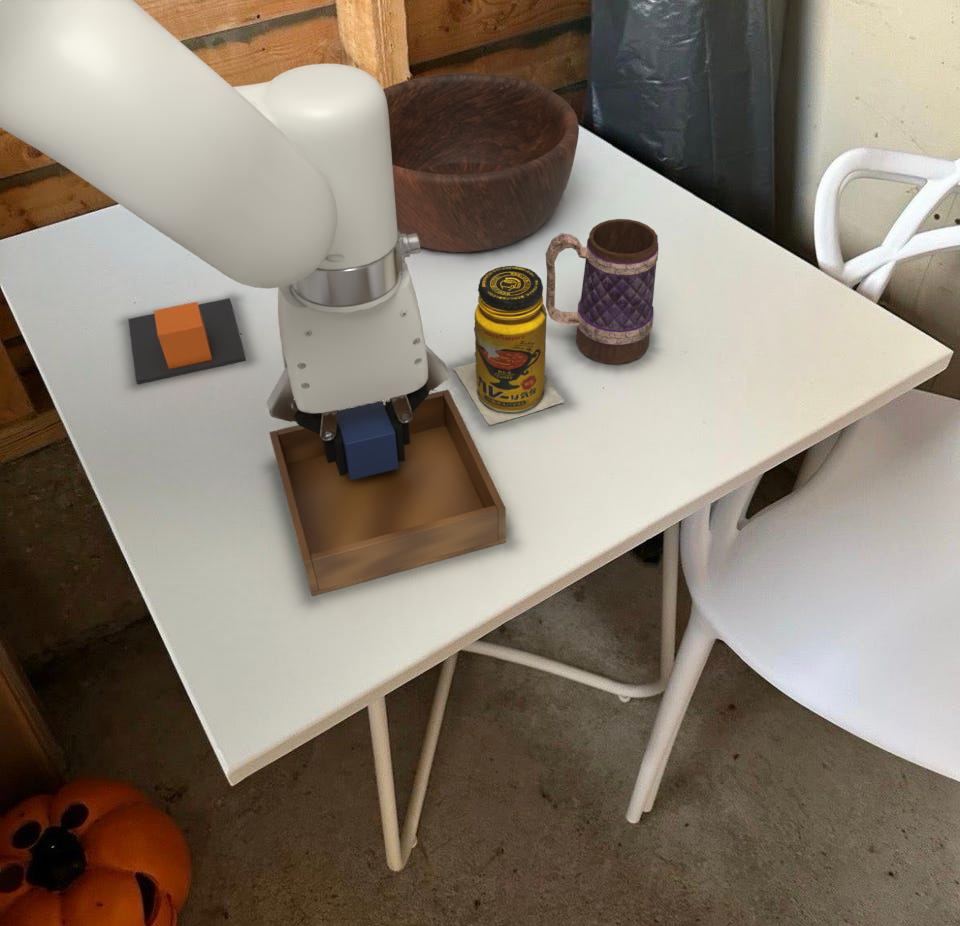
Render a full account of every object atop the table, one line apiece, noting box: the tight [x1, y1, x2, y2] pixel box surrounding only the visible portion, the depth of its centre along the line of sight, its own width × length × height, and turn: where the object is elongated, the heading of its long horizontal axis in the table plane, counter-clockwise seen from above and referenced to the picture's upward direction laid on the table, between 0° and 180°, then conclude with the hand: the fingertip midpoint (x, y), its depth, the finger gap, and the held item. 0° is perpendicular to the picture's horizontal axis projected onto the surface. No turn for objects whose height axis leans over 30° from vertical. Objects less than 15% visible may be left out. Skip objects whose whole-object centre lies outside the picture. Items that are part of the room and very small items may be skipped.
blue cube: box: [337, 400, 399, 480], centre depth 74 cm, size 4×4×4 cm
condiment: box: [453, 265, 565, 426], centre depth 80 cm, size 7×8×12 cm
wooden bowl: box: [382, 72, 580, 253], centre depth 102 cm, size 25×25×10 cm
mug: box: [545, 218, 659, 365], centre depth 84 cm, size 10×7×12 cm
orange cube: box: [153, 301, 212, 369], centre depth 86 cm, size 4×4×4 cm
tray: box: [269, 389, 507, 597], centre depth 73 cm, size 15×14×4 cm
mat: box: [128, 297, 246, 385], centre depth 90 cm, size 10×10×1 cm
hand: (368, 455), depth 75 cm, fingers closed on blue cube, 4 cm apart
